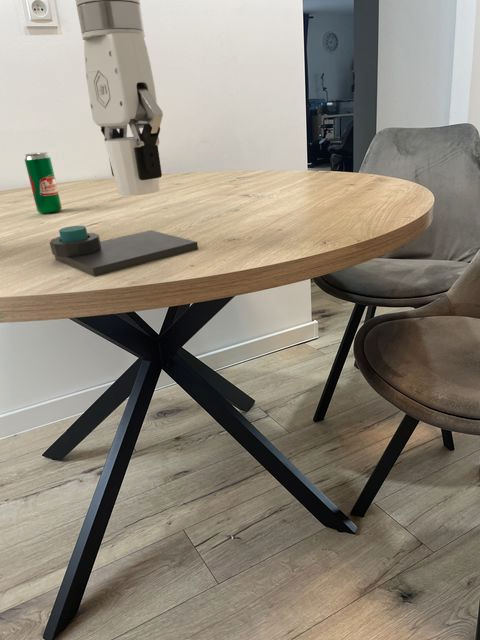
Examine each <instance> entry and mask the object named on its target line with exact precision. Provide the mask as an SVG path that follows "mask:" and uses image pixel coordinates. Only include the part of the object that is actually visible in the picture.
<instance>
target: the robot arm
mask: <svg viewBox="0 0 480 640" xmlns="http://www.w3.org/2000/svg"><path fill="white" fill-rule="evenodd" d="M75 6H76V11H77V17H78V23H79V27H80V33H81V39H82V40H83V41H84V42H83V49H84V50H83V52H84V66H85V68H84V69H85V75H86V76H85V77H86V83H87V91H88V97H89V103H90V111H91V115H92V120H93V122H94V124H95V125H97V126H99V127H100V131H101V133H102V135H103V137H104V142H105V141H106V140H109V139H115V138H124V137H128V126H129V129H130V132H131V134H132V137H134V139H135V142H136V144H137V146H138V147H136V148H134V151H135V158H136V164H137V170H138V176H139V179H140V180H148V179H154V178H159V179H160V178H162V175H163V174H162V166H161V165H162V164H161V159H160V152H159V145H160V139H159V135H160V133H161V123H162V120H163V117H164V113H163V111H162V108H160V106H159V105H158V101H157V94H156V87H155V81H154V75H153V70H152V64H151V61H150V56H149V52H148V48H147V47H148V46H147V44H146V40H145V37H146V34H145V28H144V21H143V13H142V6H141V0H75ZM141 129H142V131H141ZM104 144H105V143H104ZM105 146H106V144H105ZM108 159H109V158H108ZM109 161H110V159H109ZM109 166H110V171H111V175H112V177H114V174H113V170H112V167H111V163H110V162H109Z"/></svg>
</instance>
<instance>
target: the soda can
mask: <svg viewBox="0 0 480 640" xmlns="http://www.w3.org/2000/svg"><path fill="white" fill-rule="evenodd" d="M24 155H25V157H24V164H25V168H26V171H27V175H28V180H29V183H30V187H31V191H32V196H33V199H34V204H35V207H36V211H37V212H38V213H39V214H41V215H50V214H56V213H60V212H61V210H62V208H63V206H62V202H61V198H60V194H59V189H58V185H57V180H56V175H55V171H54V167H53V162H52V158H51V156H49V154H48V152H46V151H41V152H39V151H38V152H28V153H25V154H24Z"/></svg>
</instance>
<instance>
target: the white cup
mask: <svg viewBox="0 0 480 640" xmlns="http://www.w3.org/2000/svg"><path fill="white" fill-rule="evenodd" d="M104 144H106V145H105V148H106V152H107V155H108V159H110V160H109V164H110V163H111V166H110V168H111V167H112V170H113V174H114V176H113V177H114V181H115V185H116V189H117V193H118V195H120V196H124V197H125V196H126V197H127V196H131V197H132V196H143V195H149V194H155V193H158V192H160V191H161V188H160V187H161V185H160V178H154V179H148V180H140V179H139V176H138V170H137V164H136V158H135V151H134V148H136V147H138V146H137V144H136V142H135V139H134V137H133V136H127V137H124V138H115V139H109V140H106V141H105V140H104Z"/></svg>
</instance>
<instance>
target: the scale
mask: <svg viewBox="0 0 480 640" xmlns="http://www.w3.org/2000/svg"><path fill="white" fill-rule="evenodd" d="M87 235H88V239H85V240H80V241H74V242H62V241H61V237H60V236H56V237H55V238H52V239H51V240H50V241H49V246H50V250H51V254H52V255H53V256H54V259H55V261H57V262H60V263H62V264H64V265H67V266H69V267H72V268H74V269H75V270H78V271H80V272H83V273H85V274H87V275H90V276H91V277H94V278H95V277H99V276H103V275H106V274H110V273H114V272H119V271H122V270H127V269H129V268H133V267H137V266H141V265H145V264H148V263H152V262H157V261H160V260H164V259H169V258H172V257H175V256H178V255H183V254H187V253H190V252H193V251H197V250H199V245H198V241H196V240H192V239H188V238H183V237H180V236H175V235H172V234H168V233H163V232H160V231H156V230H152V229H151V230H146V231H145V230H144V231H142V232H137V233H132V234H128V235H127V234H126V235H123V236H119V237H115V238H109V239H105V240H101V239H100V235H99V234H98V233H94V232H87Z"/></svg>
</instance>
